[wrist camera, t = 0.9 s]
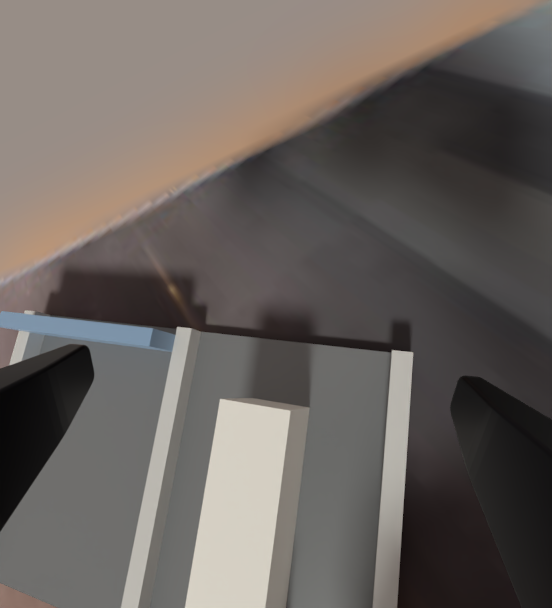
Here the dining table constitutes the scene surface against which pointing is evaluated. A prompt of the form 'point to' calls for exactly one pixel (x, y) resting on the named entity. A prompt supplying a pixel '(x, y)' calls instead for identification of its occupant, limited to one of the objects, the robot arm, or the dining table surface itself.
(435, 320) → the dining table surface
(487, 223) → the dining table surface
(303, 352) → the grey rimmed tray
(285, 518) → the cream rectangular block
